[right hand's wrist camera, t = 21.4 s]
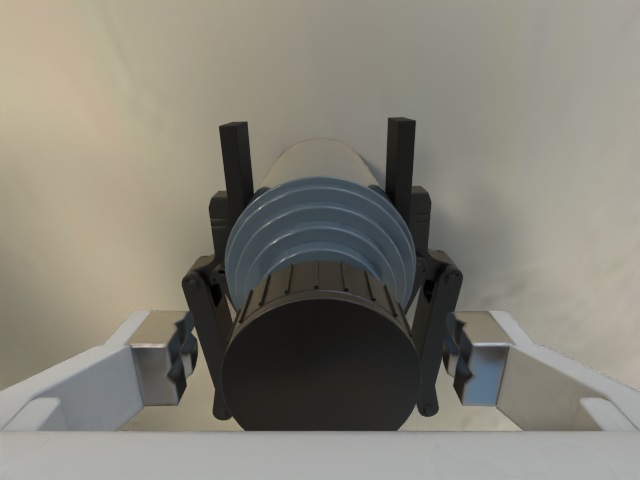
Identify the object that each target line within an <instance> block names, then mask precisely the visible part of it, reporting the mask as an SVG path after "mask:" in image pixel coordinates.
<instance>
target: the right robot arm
mask: <svg viewBox="0 0 640 480" xmlns="http://www.w3.org/2000/svg"><path fill="white" fill-rule="evenodd" d="M194 326H195V323H194V317H193V314H192V313H191V312H190V311H153V310H143V311H133V312H132V313H131V314H130V315H129V316H128V317H127V318H126V320H125V321H124V322H123V323H122V324H121V325H120V326H119V328H118V329H117V330H116V331H115V332H114V333H113V334H112V335H111V337H110V338H109V339H108V340H107V341H106V342H105V343H104V345H97V346H94V347H92V348H90V349H88V350H86V351H84V352H82V353H80V354H78V355H75V356H73V357H71V358H69V359H67V360H65V361H63V362H61V363H59V364H57V365H54V366H52V367H50V368H48V369H46V370H44V371H42V372H40V373H38V374H36V375H33V376H31V377H29V378H27V379H25V380H23V381H21V382H19V383H17V384H15V385H12V386H10V387H8V388H6V389H4V390H2V391H0V480H640V391H638V390H636V389H634V388H632V387H629V386H627V385H625V384H623V383H621V382H619V381H617V380H615V379H613V378H611V377H608V376H606V375H604V374H602V373H600V372H598V371H596V370H594V369H592V368H590V367H588V366H585V365H583V364H581V363H579V362H577V361H575V360H573V359H571V358H569V357H567V356H564V355H562V354H560V353H558V352H556V351H554V350H552V349H550V348H548V347H546V346H543V345H536V343H535V342H534V341H533V340H532V339H531V338H530V337H529V335H528V334H527V333H526V332H525V331H524V330H523V329H522V328H521V326H520V325H519V324H518V323H517V322H516V321H515V320H514V318H513V317H512V316H511V315H510V314H509V313H508V312H507V311H504V310H496V311H462V312H448V314H447V317H446V323H445V326H446V328H447V330H448V332H449V333H448V335H447V336H446V337H445V338H444V339H443V345H442V356H443V362H444V366H445V369H446V371H447V373H448V374H449V375H450V376H451V377H453V378H454V385H453V386H454V389H455V391H456V393H457V395H458V397H459V399H460V401H461V403H462V405H467V406H497V407H496V408H497V409H498V410H500V411H501V412H502V413H503V414H504V415H506V416H507V417H508V418H509V419H510V420H511V421H513V422H514V423H515V424H516V425H517V426H519V427H520V428H521V429H522V430H523V431H117V430H118V429H119V428H120V427H121V426H123V425H124V424H125V423H126V422H127V421H129V420H130V419H131V418H132V417H133V416H135V415H136V414H137V413H138V412H139V411H141V410H142V409H143V408H144V407H143V406H172V405H178V404H179V401H180V399H181V397H182V395H183V393H184V391H185V389H186V386H187V385H186V378H187V377H189V376H190V375H191V374H192V373H193V371H194V369H195V366H196V362H197V357H198V344H197V339H196V338H195V337H194V336H193V335H192V333H191V332H192V330H193V328H194Z"/></svg>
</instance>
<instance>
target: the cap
mask: <svg viewBox="0 0 640 480" xmlns="http://www.w3.org/2000/svg"><path fill="white" fill-rule="evenodd" d="M412 337H413V334H412V332H411V329H410V327H409V324H408V321H407V319H406V316H405V314H404V311H403V309H402V306H401V304H400V302H399V303H397V301H396V299H395V298H394V296H393V295H392V294H391V292H390V290H389V288H388V285H387V284H385V285H383V284H382V283H381V282H380V281H379V280H378V279H376V278H375V277H374V276H372V275H371V274H369V271H368V270H365V271H364V270H361V269H359V268H357V267H354V266H351V265H349V264H345V262H344V261H341V263H340V262H334V261H318V259H315V261H307V262H302V263H298V264H294V265H293V264H292V263H291V264H289V266H288V267H285V268H283V269H281V270H279V271H277V272H274V273H273V274H271V275H270V274H268V275H266V278H265V279H264V280H263V281H262V282H261V283H259V284H258V285H257V286H256V287H255V288H254V290H253V291H252V290H250V291H249V293H248V296H247V298H246V301H245V302H244V304H243V307H242V309H239V310H238V312H237V315H236V318H235V320H234V323H233V326H232V328H231V331H230V334H229V336H228V339H227V342H226V344H228V347H227V349H226V352H225V355H224V358H223V362H222V366H221V376H220V378H221V389H222V393H223V397H224V400H225V403H226V405H227V407H228V409H229V411H230V413H231V414H232V416H233V418H234V419H235V420H236V421H237V423H238V424H239V425H240V426H241V427H242V428H243V429H244V430H245V431H397V430H398V429H399V428H400V427H401V426H402V425H403V424H404V423H405V421H406V420H407V419H408V417H409V416H410V414H411V413H412V411H413V409H414V407H415V405H416V403H417V400H418V397H419V394H420V388H421V366H420V361H419V359H420V357H419V354H418V352H417V349H416V346H415V344H414V341H413V339H412Z"/></svg>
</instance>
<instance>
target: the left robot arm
mask: <svg viewBox="0 0 640 480" xmlns="http://www.w3.org/2000/svg"><path fill="white" fill-rule="evenodd" d="M415 126H416V121H415V120H411V119H407V118H404V117H397V118H388V134H387V161H386V188H385V193H386V195H387V196H388V198H389V199H390V201H391V202H392V204H393V205H394V207H395V208H396V210H397V211H398V212H399V214H400V215H401V217H402V219H403V220H404V222H405V223H406V225H407V227H408V229H409V231H410V234H411V236H412V240H413V243H414V247H415V254H416V272H415V279H414V283H413V288H412V292H411V295H410V299H409V301H408V303H407V305H406V307H405V309H404V314H405V316H406V314H407V312H408V310H409V308H410V306H411V304H412V302H413V300H414V298H415V296H416V294H417V292H418V290H419V288H420V286H421V289H420V294H419V298H418V303H417V307H416V312H415V316H414V321H413V325H412V330H411V332H412V334H413V337H412V339H413V341H414V344H415V346H416V349H417V352H418V354H419V357H420V359H419V361H420V366H421V388H420V394H419V397H418V400H417V403H416V405H415V407H418V411H419V413H420V414H421V415H422V416H425V417H430V416H433V415H435V414H436V413H437V412H438V410H439V406H438V401H437V395H436V390H435V383H436V379H437V375H438V371H439V368H440V364H441V360H442V345H443V339H444V338H445V337H446V336H447V335H448V333H449V332H448V330H447V328H446V326H445V323H446V317H447V314H448V312H454V311H455V307H456V303H457V299H458V296H459V292H460V288H461V284H462V281H463V275H462V273H461V272H460V270H459V269H458V268H457V267H456V265H455V264H454V263H453V262H452V260H451V259H450V258H449V256H448V255H447V254H446V253H445V252H444V251H440V250H438V251H433V250H430V249H428V237H429V225H430V222H429V221H430V213H431V200H430V197H429V194H428V192H427V191H426V190H425V189H424V188H422V187H421V186H412V174H413V158H414V142H415ZM219 130H220V139H221V147H222V156H223V164H224V173H225V181H226V189H227V191H218V192H217V193H216V194H215V195H214V196H213V197H212V198H211V201H210V205H209V214H210V219H211V220H210V221H211V226H212V235H213V243H214V250H215V254H213V255H211V256H202V257H200V258H199V259H197V261H196V262H195V263H194V265H193V266H192V267H191V269H190V270H189V271H188V273H187V274H186V275H185V277H184V278H183V280H182V288H183V291H184V294H185V297H186V300H187V303H188V306H189V310H190V312H191V313H192V314H193V317H194V323H195V328H196V331H197V334H198V337H199V341H200V344H201V347H202V350H203V353H204V356H205V359H206V362H207V365H208V369H209V372H210V375H211V378H212V381H213V384H214V387H215V396H214V404H213V415H214V417H215V418H217V419H219V420H228V419H230V418H231V417H232V414H231V413H230V411H229V409H228V407H227V405H226V403H225V400H224V397H223V393H222V389H221V378H220V376H221V366H222V362H223V358H224V355H225V352H226V349H227V347H228V344H226V342H227V339H228V336H229V334H230V331H231V328H232V326H233V321H232V318H231V314H230V311H229V307H228V303H227V300H226V296H225V294H226V295H227V297H228V299H229V301H230V302H231V304H232V306H233V308H234V309H235V311H236V313H237V312H238V311H237V309H236V308H235V306H234V304H233V301H232V298H231V296H230V293H229V288H228V284H227V279H226V274H225V252H226V247H227V243H228V239H229V236H230V234H231V231H232V229H233V227H234V225H235V223H236V222H237V220H238V218H239V217H240V215H241V214H242V212H243V210H244V209H245V207H246V206H247V204H248V203H249V201H250V200H251V198H252V197H253V195H254V189H253V178H252V168H251V157H250V146H249V135H248V124H247V122H231V123H228V124H225V125H221V126H219ZM421 284H422V285H421ZM224 292H225V293H224Z"/></svg>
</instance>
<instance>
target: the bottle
mask: <svg viewBox="0 0 640 480" xmlns="http://www.w3.org/2000/svg"><path fill="white" fill-rule="evenodd" d="M315 259H318V261H334V262H340V263H341V261H344V262H345V264H349V265H351V266H354V267H357V268H359V269H361V270H364V271H365V270H368V271H369V274H371V275H372V276H374V277H375V278H376V279H378V280H379V281H380V282H381V283H382V284H383V285H385V284H387V285H388V288H389V290H390V292H391V294H392V295H393V296H394V298H395V299H396V301H397V303H399V302H400V304H401V306H402V309H403V311H404V309H405V307H406V305H407V303H408V301H409V299H410V295H411V292H412V288H413V283H414V279H415V272H416V254H415V247H414V243H413V240H412V236H411V234H410V231H409V229H408V227H407V225H406V223H405V222H404V220H403V219H402V217H401V215H400V214H399V212H398V211H397V210H396V208H395V207H394V205H393V204H392V202H391V201H390V199H389V198H388V196H387V195H386V193H385V192H384V190H383V189H382V187H381V186H380V185H379V183H378V182H377V180H376V179H375V177H374V176H373V174H372V173H371V171H370V170H369V168H368V167H367V165H366V164H365V162H364V161H363V159H362V158H361V157H360V156H359V155H358V154H357V153H356V152H355V151H354V150H353V149H351V148H350V147H348V146H347V145H345V144H342V143H340V142H337V141H334V140H330V139H310V140H306V141H303V142H300V143H297V144H296V145H294V146H292V147H290V148H289V149H288V150H286V151H285V152H284V153H283V154H282V155H281V156H280V157H279V158H278V160H277V161H276V162H275V164H274V165H273V167H272V168H271V170H270V171H269V173H268V174H267V176H266V177H265V179H264V180H263V182H262V183H261V185H260V186H259V188H258V189H257V191H256V192H255V194H254V195H253V197H252V198H251V200H250V201H249V203H248V204H247V206H246V207H245V209H244V210H243V212H242V214H241V215H240V217H239V218H238V220H237V222H236V223H235V225H234V227H233V229H232V231H231V234H230V236H229V239H228V243H227V247H226V252H225V274H226V279H227V284H228V288H229V293H230V296H231V298H232V301H233V304H234V306H235V308H236V309H237V311H238V310H239V309H242V307H243V304H244V302H245V301H246V298H247V296H248V293H249V291H250V290H252V291H253V290H254V288H255V287H256V286H257V285H258V284H259V283H261V282H262V281H263V280H264V279H265V278H266V275H268V274H270V275H271V274H273V273H274V272H277V271H279V270H281V269H283V268H285V267H288V266H289V264H291V263H292V264H293V265H294V264H298V263H302V262H307V261H315Z"/></svg>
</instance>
